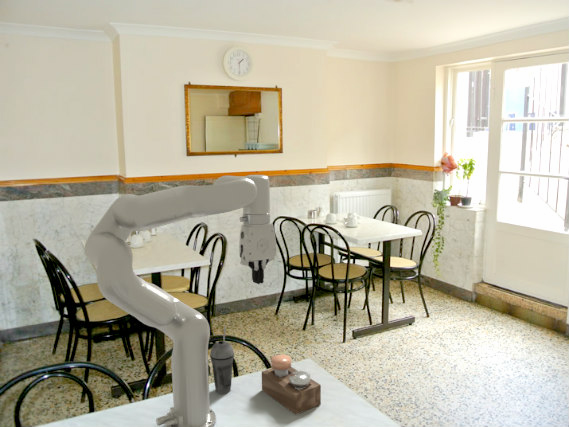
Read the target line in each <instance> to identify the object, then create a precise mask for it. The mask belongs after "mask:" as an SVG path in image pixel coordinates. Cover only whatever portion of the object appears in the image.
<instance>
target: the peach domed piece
mask: <svg viewBox="0 0 569 427" xmlns="http://www.w3.org/2000/svg"><path fill="white" fill-rule="evenodd" d="M270 360H271V362H270V366H271V368H274V369H275V375H276V376H277V377H279V378H281V377H283V376H286V375H288V368H290V367H292V357H291V356H289V355H287V354H276V355H273V356H272V357H271V358H270Z"/></svg>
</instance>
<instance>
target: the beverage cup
mask: <svg viewBox="0 0 569 427" xmlns="http://www.w3.org/2000/svg"><path fill="white" fill-rule="evenodd" d="M226 328H227V327H226V326H224V327H223V336H222V338H223V339H222V340H220V341H219V340H218V341H217V342H215V343H214V344H213V345H212V347H211V349H210V353H209V357H210V361H211V365H212V366H211V367H212V374H213V380H214V388H215V393H216V394H218V395H227V394H229V393H231V391H232V389H231V388H232V380H233V379H232V378H233V362H234V357H235V353H234V348H233V346H232V345H231V344H230V343H229V342H227V341H226Z"/></svg>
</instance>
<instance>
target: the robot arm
mask: <svg viewBox="0 0 569 427" xmlns="http://www.w3.org/2000/svg"><path fill="white" fill-rule="evenodd" d="M270 187H271V186H270V179H269V177H268V176H267V175H264V174H249V175H245V176H242V175H241V176H240V175H239V176H238V175H237V176H236V175H222V176H219V177H218V178H217V179H216V180H215V181H214V183H213V184H208V185H192V184H191V185H189V184H188V185H178V186H175V187H170V188H167V189H163V190H158V191H153V192H149V193H144V194H141V195H137V194H133V193H125V194H122V195H120V196H119V197H117V199H115V200H114V201H113V202H112V204H111V205H110V206H109V208H108V209H107V211H106V212H105V213H104V215H103V216H102V217H101V219H100V220H99V222H98V223H97V224H96V225H95V227H94V229H93V230H92V231H91V232H90V234H89V236H88V237H87V239H86V242H85V244H84V255H85V256H86V259H87V260H88V261H89V262H90V263H91V264H92V265H93V266H95V267H96V281H97V287H98V290H99V292H100V293H101V295H102V296H103V297H104V299H106V300H107V301H108V302H110V303H111V304H112V305H115V306H116V307H118V308H119V309H121V310H123V311H124V312H125V313H127V314H129V315H131V316H132V317H134V318H135V319H137V320H138V321H139V322H141V323H142V324H144V325H146V326H148V327H151V328H154V329H157V330H158V331H160V332H162V333H164V334H165V335H166V336H167V337H169V338H170V339H171V341H172V342H173V348H172V352H171V358H170V360H171V379H172V382H171V384H172V397H173V399H172V400H173V407H170V408H169V412H168V413H167V414H166V415H162V416H159V417H157V418H156V419H155V420H156V421H155V422H156V425H157V426H162V425H164V427H213V426H214V425H215V423H216V421H217V417H216V416H217V414H216V412H215V411H214V410H213V409H211V407H210V405H211V404H210V402H211V401H210V384H209V383H210V381H209V378H210V377H209V358H208V357H209V356H208V355H209V344H210V343H209V341H210V337H211V326H210V324H209V322H208V319H207V318H206V317H205V315H203V314H202V313H200V312H199V311H198V310H196V309H194V308H193V307H191V306H189V305H188V304H186V303H184V302H182V301H181V300H180V299H178V298H177V297H174V296H173V295H172V294H170V293H168V292H167V291H165V290H164V289H163V288H161V287H159V286H158V285H156V284H154V283H152V282H147V281H146V280H144V279H143V278H142V277H141V276H138V275H137V274H136V273H135V272H134V269H133V260H134V259H133V258H134V256H133V251H132V248H131V246H130V245H129V243H128V242H127V240H128V239H129V237H130V236H131V234H132V233H133V232H144V231H149V230H153V229H156V228H160V227H164V226H166V225H171V224H175V223H176V222H181V221H184V220H188V219H194V218H201V217H202V218H203V217H208V216H212V215H219V214H224V213H230V212H233V211H236V210H239V209H242V216H240V217H239V221H240V222H242V223H243V224H241V226H240V232H239V244H238V245H239V246H238V248H239V249H238V250H239V251H238V252H239V258H240V262H239V263H240V265H241V266H247V267H249V268H250V270H251V279H252V282H253V283H255V284H257V285H260V284H264V278H265V274H264V273H265V272H264V271H265V269H266V266H267V265H268V263H269V262H271V261H274V259H275V257H276V256H277V240H276V233H275V227H274V224H273V222H271V199H270V198H271V196H270V193H271V191H270V190H271V189H270Z"/></svg>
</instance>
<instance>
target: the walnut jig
mask: <svg viewBox="0 0 569 427" xmlns="http://www.w3.org/2000/svg"><path fill="white" fill-rule="evenodd" d="M295 371H298V370H297V369H295V367H292V366H291V367H290V368H288V375H286V376H283V377H281V378H279V377H277V376H276V375H275V369H274V368H272V367H271V368H269V369H265V370H262V371H261V391H262V392H264V393H265V394H267V395H268V396H269V397H271V398H272V399H274V400H275V401H276V402H278V403H279V404H280V405H282V406H283V407H284V408H286V409H287V410H289V411H290V412H291V413H293V414H294V415H296V416H297V415H298V414H302V413H304V412H306V411H308V410H311V409H314V408H317V407H318V406H321V402H322V401H321V400H322V394H321V393H322V392H321V390H322V389H321V388H322V387H321V386H322V385H321V384H320V383H318V382H317V381H315V380H314V379H312V378H310V384H309V385H308V386H307V387H305V388H303V389H300V390H297V389H295V388H294V387H293V386H291V385H290V384H289V375H290V374H291V373H292V372H295Z"/></svg>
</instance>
